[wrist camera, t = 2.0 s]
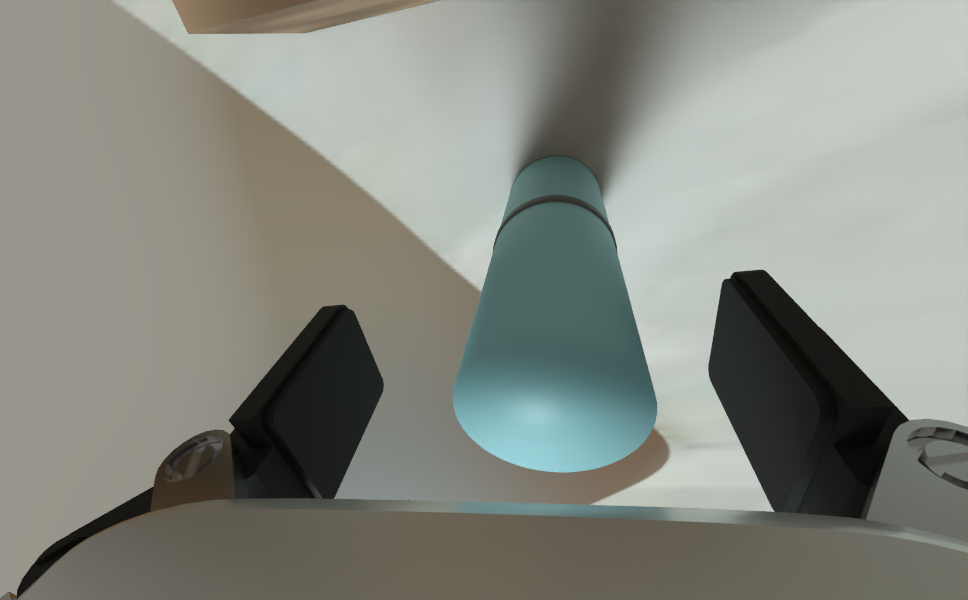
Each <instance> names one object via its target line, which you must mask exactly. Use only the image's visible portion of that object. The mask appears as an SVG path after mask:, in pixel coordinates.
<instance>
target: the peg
mask: <svg viewBox="0 0 968 600" xmlns="http://www.w3.org/2000/svg"><path fill="white" fill-rule="evenodd" d="M453 405H454V410H455V413H456V416H457V418H458V421H459V422H460V424H461V426H462V427H463V429H464V430H465V431H466V433H467V434H468V435H469V436H470V437H471V438H472V439H473V440H474V441H475V442H476V443H477V444H478V445H480V446H481V447H482V448H484V449H485V450H486V451H488V452H490V453H491V454H493V455H495V456H497V457H499V458H501V459H503V460H505V461H508V462H510V463H513V464H516V465H519V466H522V467H526V468H530V469H534V470H541V471H549V472H576V471H585V470H591V469H595V468H599V467H603V466H606V465H609V464H611V463H614V462H616V461H618V460H620V459H622V458H624V457H626V456H627V455H629V454H630V453H632V452H633V451H634V450H636V449H637V448H638V447H639V446H640V445H641V444H642V443H643V442H644V441H645V440H646V439H647V437H648V436H649V434H650V432H651V431H652V429H653V426H654V424H655V421H656V415H657V401H656V397H655V392H654V389H653V385H652V381H651V377H650V374H649V370H648V366H647V363H646V359H645V355H644V352H643V348H642V344H641V340H640V337H639V333H638V329H637V326H636V322H635V318H634V314H633V311H632V307H631V303H630V300H629V296H628V292H627V288H626V285H625V281H624V277H623V274H622V270H621V266H620V262H619V259H618V255H617V246H616V241H615V238H614V234H613V231H612V229H611V226H610V224H609V222H608V218H607V214H606V210H605V207H604V203H603V199H602V196H601V192H600V188H599V185H598V182H597V180H596V178H595V176H594V175H593V173H592V172H591V171H590V170H589V169H588V168H587V167H586V166H585V165H584V164H582V163H581V162H579V161H577V160H575V159H572V158H569V157H564V156H550V157H545V158H542V159H539V160H537V161H535V162H533V163H531V164H530V165H528V166H527V167H526V168H525V169H524V170H523V171H522V172H521V173H520V174H519V175H518V177H517V178H516V180H515V182H514V184H513V186H512V189H511V193H510V196H509V200H508V203H507V206H506V210H505V213H504V217H503V220H502V224H501V226H500V228H499V230H498V233H497V236H496V239H495V242H494V247H493V255H492V258H491V261H490V265H489V268H488V272H487V275H486V279H485V282H484V286H483V289H482V292H481V296H480V299H479V303H478V306H477V310H476V313H475V316H474V320H473V324H472V327H471V330H470V334H469V337H468V340H467V344H466V347H465V351H464V354H463V358H462V361H461V365H460V368H459V372H458V375H457V378H456V382H455V385H454V391H453Z"/></svg>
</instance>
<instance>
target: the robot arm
mask: <svg viewBox="0 0 968 600" xmlns="http://www.w3.org/2000/svg"><path fill="white" fill-rule="evenodd" d="M708 369H709V377H710V380H711V383H712V385H713V387H714V389H715V391H716V393H717V395H718V397H719V399H720V401H721V403H722V405H723V407H724V410H725V412H726V414H727V416H728V418H729V420H730V422H731V424H732V426H733V428H734V430H735V432H736V434H737V436H738V438H739V440H740V443H741V445H742V447H743V449H744V451H745V453H746V455H747V457H748V459H749V461H750V463H751V465H752V467H753V469H754V471H755V474H756V476H757V478H758V480H759V482H760V484H761V486H762V488H763V490H764V492H765V494H766V496H767V498H768V500H769V502H770V504H771V506H772V508H773V510H774V511H775V512H765V511H744V510H722V509H700V508H669V507H636V506H603V505H568V504H532V503H493V502H452V501H451V502H449V501H412V500H411V501H410V500H360V499H359V500H357V499H334V497H335V495H336V493H337V491H338V488H339V486H340V484H341V482H342V480H343V478H344V475H345V473H346V471H347V469H348V467H349V464H350V462H351V460H352V458H353V456H354V454H355V451H356V449H357V447H358V445H359V443H360V441H361V438H362V436H363V434H364V432H365V430H366V427H367V425H368V423H369V421H370V419H371V416H372V414H373V412H374V410H375V408H376V406H377V403H378V401H379V399H380V397H381V394H382V392H383V386H384V384H383V379H382V377H381V374H380V372H379V370H378V367H377V365H376V362H375V360H374V358H373V355H372V353H371V351H370V348H369V346H368V344H367V341H366V339H365V337H364V334H363V332H362V329H361V327H360V325H359V322H358V320H357V318H356V315H355V313H354V312H353V311H352V310H350V309H348V308H347V307H346V306H345V305H335V306H325V307H322V308H321V309H320V310H319V311H318V313H317V314H316V315H315V316H314V318H313V319H312V320H311V321H310V322H309V323H308V325H307V326H306V327H305V328H304V330H303V331H302V332H301V333H300V334H299V336H298V337H297V338H296V339H295V341H294V342H293V343H292V344H291V345H290V346H289V348H288V349H287V350H286V351H285V352H284V354H283V355H282V356H281V357H280V358H279V360H278V361H277V362H276V363H275V365H274V366H273V367H272V368H271V369H270V371H269V372H268V373H267V374H266V375H265V377H264V378H263V379H262V380H261V381H260V383H259V384H258V385H257V386H256V388H255V389H254V390H253V391H252V393H251V394H250V395H249V396H248V397H247V398H246V400H245V401H244V402H243V403H242V404H241V406H240V407H239V408H238V409H237V410H236V412H235V413H234V414H233V415H232V416H231V418H230V419H229V421H230V423H231V424H232V425H233V426H234V428H235V429H234V430H233V432H232V433H231V434H230V435H229V433H227V432H226V431H224V430H210V431H206V432H203V433H201V434H198V435H196V436H194V437H192V438H190V439H189V440H187V441H185V442H183V443H182V444H181V445H180V446H179V447H177V448H176V449H174V450H173V451H172V452H171V453H170V454H169V455H168V456H167V457H166V458H165V459H164V461H163V462H162V464H161V465H160V467H159V468H158V470H157V473H156V476H155V481H154V487H152V488H150V489H148V490H147V491H145V492H143V493H141V494H139V495H138V496H136V497H134V498H132V499H131V500H129V501H127V502H125V503H124V504H122V505H120V506H118V507H116V508H115V509H113V510H111V511H109V512H108V513H106V514H104V515H102V516H101V517H99V518H97V519H95V520H93V521H92V522H90V523H88V524H86V525H85V526H83V527H81V528H79V529H78V530H76V531H74V532H72V533H71V534H69V535H68V536H66V537H64V538H62V539H61V540H59V541H57V542H56V543H54V544H53V545H51V546H50V547H49V548H48V549H46V550H45V551H44V552H43V553H42V555H40V557H39V558H38V559H37V560H36V562H35V563H34V564H33V565H32V566H31V568H30V569H29V571H28V572H27V573H26V575H25V576H24V577H23V579H22V581H21V583H20V585H19V587H18V590H17V595H15V594H13V593H11V592H8V593H6V594H5V595H4V596H2V597H1V598H0V600H968V427H966V426H963V425H959V424H955V423H951V422H948V421H941V420H932V419H919V420H910V421H909V420H908V419H907V418H906V416H905V415H904V414H903V413H902V412H901V411H900V410H899V409H898V408H897V407H896V406H895V405H894V404H893V403H892V402H891V401H890V400H889V399H888V398H887V397H886V395H885V394H884V393H883V392H882V391H881V390H880V389H879V388H878V387H877V386H876V385H875V384H874V383H873V382H872V381H871V380H870V379H869V378H868V377H867V376H866V375H865V373H864V372H863V371H862V370H861V369H860V368H859V367H858V366H857V365H856V364H855V363H854V362H853V361H852V360H851V359H850V358H849V357H848V356H847V355H846V354H845V353H844V351H843V350H842V349H841V348H840V347H839V346H838V345H837V344H836V343H835V342H834V341H833V340H832V339H831V338H830V337H829V336H828V335H827V334H826V333H825V332H824V331H823V330H822V329H821V328H820V327H818V326H817V324H816V323H815V322H814V321H813V320H812V319H811V318H810V317H809V316H808V315H807V314H806V313H805V312H804V311H803V310H802V309H801V308H800V307H799V306H798V304H797V303H796V302H795V301H794V300H793V299H792V298H791V297H790V296H789V295H788V294H787V293H786V292H785V291H784V290H783V289H782V288H781V287H780V286H779V284H778V283H777V282H776V281H775V280H774V279H773V278H772V277H771V276H770V275H769V274H768V273H767V272H766V271H764V270H753V271H741V272H734V273H733V274H732V276H731V278H730V279H725V280H724V281H723V283H722V287H721V293H720V299H719V305H718V311H717V318H716V324H715V330H714V336H713V342H712V348H711V354H710V360H709V368H708Z"/></svg>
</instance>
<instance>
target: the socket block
mask: <svg viewBox="0 0 968 600" xmlns="http://www.w3.org/2000/svg"><path fill="white" fill-rule="evenodd" d="M172 1H173V3H174V5H175V7H176V9H177V11H178V13H179V15H180V17H181V20H182V22H183V24H184V26H185V28H186V30H187V32H188V34H253V33H308V32H312V31H316V30H320V29H324V28H328V27H332V26H336V25H341V24H345V23H349V22H353V21H357V20H361V19H365V18H369V17H373V16H377V15H381V14H386V13H390V12H394V11H398V10H402V9H406V8H410V7H414V6H418V5H422V4H426V3H430V2H435V1H439V0H172Z"/></svg>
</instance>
